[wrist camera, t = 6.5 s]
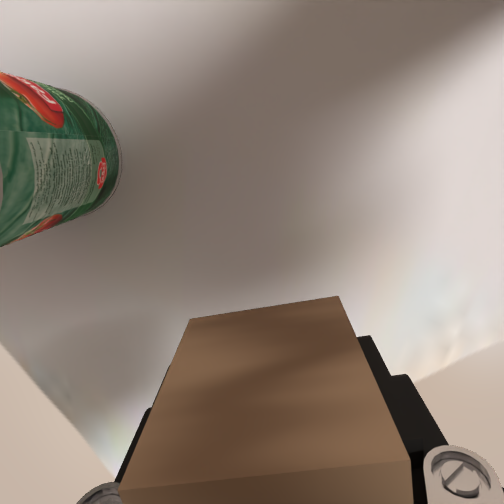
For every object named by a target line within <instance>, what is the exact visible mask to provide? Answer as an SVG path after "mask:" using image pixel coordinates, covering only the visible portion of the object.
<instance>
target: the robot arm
mask: <svg viewBox="0 0 504 504" xmlns="http://www.w3.org/2000/svg"><path fill="white" fill-rule="evenodd" d="M357 339H358V342H359V344H360V346H361V348H362V351H363V353H364V355H365V358H366V360H367V362H368V364H369V367H370V369H371V371H372V373H373V376H374V378H375V380H376V383H377V385H378V387H379V389H380V392H381V394H382V396H383V398H384V401H385V403H386V405H387V408H388V410H389V412H390V414H391V417H392V419H393V421H394V423H395V426H396V428H397V430H398V433H399V435H400V437H401V439H402V442H403V444H404V446H405V448H406V451H407V453H408V455H409V458H410V461H411V475H412V489H413V503H414V504H504V488H503V487H502V486H501V483H500V481H499V478H498V476H497V474H496V472H495V470H494V468H493V467H492V466H491V465H490V464H489V463H488V462H487V461H486V460H485V459H484V458H482V457H481V456H479V455H478V454H477V453H475V452H473V451H470V450H468V449H466V448H463V447H458V446H454V445H449V444H448V443H447V441H446V439H445V438H444V436H443V434H442V432H441V431H440V429H439V427H438V425H437V424H436V422H435V420H434V419H433V417H432V415H431V413H430V412H429V410H428V408H427V407H426V405H425V403H424V401H423V400H422V398H421V396H420V395H419V393H418V391H417V389H416V388H415V386H414V384H413V383H412V381H411V379H410V378H409V376H408V375H406V374H402V375H394V376H391V375H390V373H389V371H388V369H387V367H386V365H385V363H384V361H383V359H382V357H381V355H380V353H379V351H378V349H377V347H376V345H375V343H374V341H373V339H372V337H371V336H370V335H368V336H361V337H357ZM170 365H171V364H170ZM169 367H170V366H169ZM169 367H168V370H169ZM168 370H167V372H168ZM167 372H166V374H167ZM166 374H165V377H166ZM165 377H164V379H165ZM164 379H163V381H164ZM162 384H163V382H162ZM162 384H161V386H162ZM161 386H160V389H161ZM160 389H159V391H160ZM159 391H158V393H159ZM158 393H157V396H158ZM157 396H156V398H157ZM156 398H155V400H156ZM155 400H154V403H155ZM154 403H153V405H154ZM153 405H152V407H153ZM152 407H151V408H148V409H147V410H146V412H145V413H144V416H143V418H142V420H141V422H140V425H139V427H138V429H137V431H136V434H135V436H134V438H133V441H132V443H131V445H130V447H129V450H128V452H127V454H126V456H125V459H124V461H123V463H122V465H121V468H120V470H119V472H118V474H117V477H116V479H115V481H114V482H109V483H105V484H101V485H99V486H97V487H95V488H93V489H92V490H91V491H90V492H88V493H87V494H85V495H84V496H83V497H82V498H81V499H80V500H79V501H78V502H77V504H123V503H122V500H121V498H120V496H119V493H118V491H117V490H118V488H119V486H120V483H121V481H122V478H123V476H124V474H125V471H126V469H127V467H128V464H129V462H130V460H131V457H132V455H133V452H134V450H135V448H136V445H137V443H138V441H139V438H140V436H141V433H142V431H143V429H144V426H145V424H146V422H147V419H148V417H149V415H150V412H151V410H152Z"/></svg>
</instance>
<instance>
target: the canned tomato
mask: <svg viewBox="0 0 504 504" xmlns="http://www.w3.org/2000/svg"><path fill="white" fill-rule="evenodd" d="M121 168H122V157H121V148H120V145H119V142H118V139H117V136H116V134H115V132H114V130H113V128H112V126H111V124H110V122H109V121H108V120H107V118H106V117H105V116H104V114H103V113H102V112H101V111H100V110H99V109H98V108H97V107H96V106H95V105H93V104H92V103H91V102H89V101H88V100H86V99H85V98H83V97H82V96H80V95H78V94H76V93H73V92H71V91H68V90H65V89H60V88H55V87H52V86H50V85H45V84H42V83H39V82H34V81H32V80H28V79H24V78H22V77H17V76H13V75H11V74H7V73H2V72H0V247H2V246H4V245H8V244H10V243H13V242H15V241H17V240H21V239H23V238H25V237H28V236H31V235H33V234H36V233H38V232H41V231H44V230H46V229H49V228H51V227H54V226H57V225H59V224H61V223H65V222H67V221H69V220H72V219H75V218H77V217H79V216H83V215H87V214H89V213H91V212H93V211H96V210H97V209H98V208H100V207H101V206H102V205H104V204H105V203H106V202H107V201H108V200H109V198H110V197H111V196H112V195H113V193H114V191H115V189H116V187H117V185H118V183H119V179H120V176H121Z"/></svg>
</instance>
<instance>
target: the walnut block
mask: <svg viewBox="0 0 504 504" xmlns="http://www.w3.org/2000/svg"><path fill="white" fill-rule="evenodd" d="M117 491H118V493H119V496H120V498H121V500H122V503H123V504H414V503H413V489H412V475H411V461H410V458H409V455H408V453H407V451H406V448H405V446H404V444H403V442H402V439H401V437H400V435H399V433H398V430H397V428H396V426H395V423H394V421H393V419H392V417H391V414H390V412H389V410H388V408H387V405H386V403H385V401H384V398H383V396H382V394H381V392H380V389H379V387H378V385H377V383H376V380H375V378H374V376H373V373H372V371H371V369H370V367H369V364H368V362H367V360H366V358H365V355H364V353H363V351H362V348H361V346H360V344H359V342H358V339H357V337H356V335H355V333H354V330H353V328H352V326H351V323H350V321H349V319H348V317H347V314H346V312H345V310H344V308H343V305H342V303H341V301H340V298H339V296H334V297H328V298H321V299H315V300H308V301H302V302H295V303H289V304H282V305H276V306H270V307H263V308H257V309H250V310H244V311H237V312H231V313H225V314H218V315H212V316H205V317H199V318H192V319H190V320H189V322H188V325H187V327H186V329H185V332H184V334H183V337H182V339H181V341H180V344H179V346H178V348H177V351H176V353H175V355H174V358H173V360H172V363H171V365H170V367H169V370H168V372H167V374H166V377H165V379H164V381H163V384H162V386H161V389H160V391H159V393H158V396H157V398H156V400H155V403H154V405H153V407H152V410H151V412H150V415H149V417H148V419H147V422H146V424H145V426H144V429H143V431H142V433H141V436H140V438H139V441H138V443H137V445H136V448H135V450H134V452H133V455H132V457H131V460H130V462H129V464H128V467H127V469H126V471H125V474H124V476H123V478H122V481H121V483H120V486H119V488H118V490H117Z"/></svg>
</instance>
